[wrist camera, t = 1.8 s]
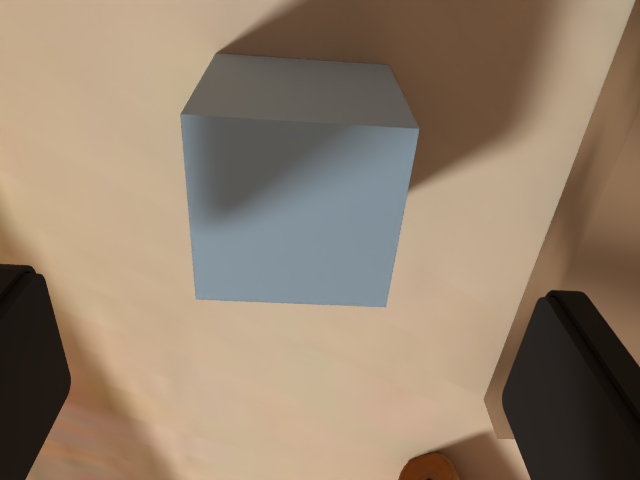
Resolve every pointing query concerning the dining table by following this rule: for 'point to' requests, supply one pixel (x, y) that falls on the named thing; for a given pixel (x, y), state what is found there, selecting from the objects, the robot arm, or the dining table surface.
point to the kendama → (429, 468)
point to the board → (593, 222)
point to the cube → (296, 179)
